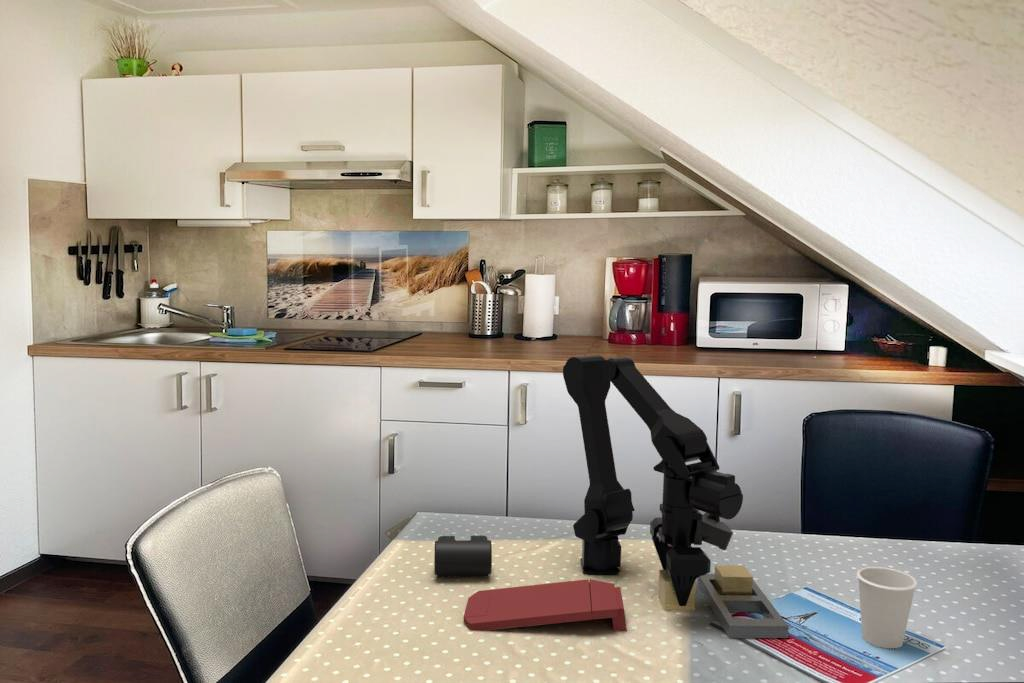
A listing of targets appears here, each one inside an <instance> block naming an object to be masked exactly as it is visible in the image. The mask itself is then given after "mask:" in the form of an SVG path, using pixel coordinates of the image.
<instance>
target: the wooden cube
mask: <svg viewBox="0 0 1024 683" xmlns="http://www.w3.org/2000/svg"><path fill="white" fill-rule="evenodd" d="M696 587H697V581H696V580H695V582H694V585H693V587H692V590H691V593H690V596H689V599H688V601H687V604H686V606H679V604H678V601H677V598H676V595H675V592H674V589H673V585H672V582H671V579H670V576H669V573H668V570H663V569H659V570H658V597H657V598H658V600H659V602H660V604H662V605H661V607H662V609H663V611H664V610H680V611H679V612H682V611H681V610H683V612H695V611H696V610H695V607H696V593H697V592H696V591H697V590H696ZM684 610H686V611H684ZM687 610H688V611H687Z"/></svg>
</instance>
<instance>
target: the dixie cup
mask: <svg viewBox="0 0 1024 683" xmlns="http://www.w3.org/2000/svg"><path fill="white" fill-rule="evenodd" d="M856 576H857V579H858V589H859V590H858V592H859V609H860V623H861V624H860V625H861V636H862V639H863V640H864V641H865V642H866V643H867V644H870V645H871V644H872V646H874V647H877V648H880V647H882V649H886V648H888V650H889V648H890V650H891V648H893V650H894V648H896V649H899V648H901V647H902V646H903V643H904V640H905V634H906V631H907V625H908V620H909V617H910V612H911V607H912V603H913V599H914V595H915V594H914V593H915V590H916V588H917V587H918V581H917V580H916V579H915V578H914V576H912V575H910V574H908V573H906V572H904V571H901V570H898V569H893V568H890V567H889V568H888V567H885V566H882V567H881V566H867V567H863V568H860V569H859V570H858V571H857V572H856ZM878 646H879V647H878ZM898 647H899V648H898Z"/></svg>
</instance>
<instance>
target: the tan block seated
mask: <svg viewBox="0 0 1024 683" xmlns="http://www.w3.org/2000/svg"><path fill="white" fill-rule="evenodd" d="M714 574H715V575H714V589H715V590H716V592H717V593H718V595H743V596H752V584H753V580H754V579H753V578H754V577H753V575H752V574H751V573H750V571H749V570H748V569H747V568H746V566H745V565H742V564H741V565H739V564H738V565H737V564H735V565H732V564H730V565H729V564H723V565H721V564H720V565H719V564H714Z"/></svg>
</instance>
